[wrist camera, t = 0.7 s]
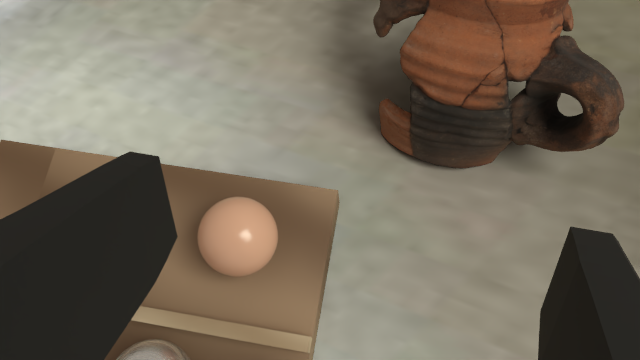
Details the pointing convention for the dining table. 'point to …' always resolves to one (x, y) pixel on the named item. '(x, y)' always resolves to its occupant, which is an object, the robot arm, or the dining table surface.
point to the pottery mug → (494, 81)
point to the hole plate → (192, 270)
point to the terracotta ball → (237, 236)
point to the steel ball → (153, 351)
